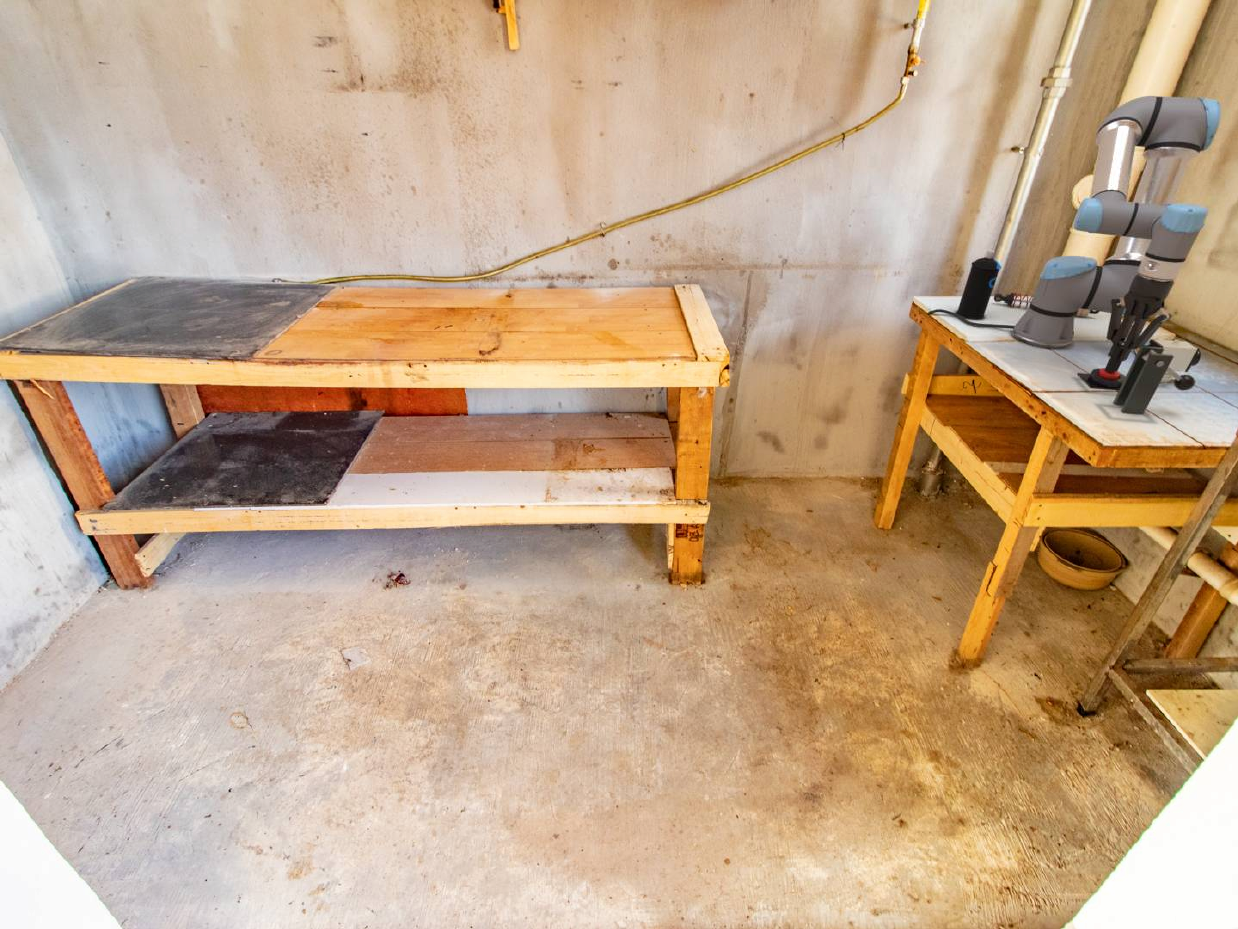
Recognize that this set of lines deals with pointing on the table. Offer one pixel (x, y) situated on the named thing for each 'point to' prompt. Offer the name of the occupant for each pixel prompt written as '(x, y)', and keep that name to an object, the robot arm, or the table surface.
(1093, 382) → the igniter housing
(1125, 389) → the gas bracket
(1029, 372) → the table surface
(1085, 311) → the shock absorber
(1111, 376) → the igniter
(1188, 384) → the lever
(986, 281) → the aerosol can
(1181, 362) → the pneumatic valve
